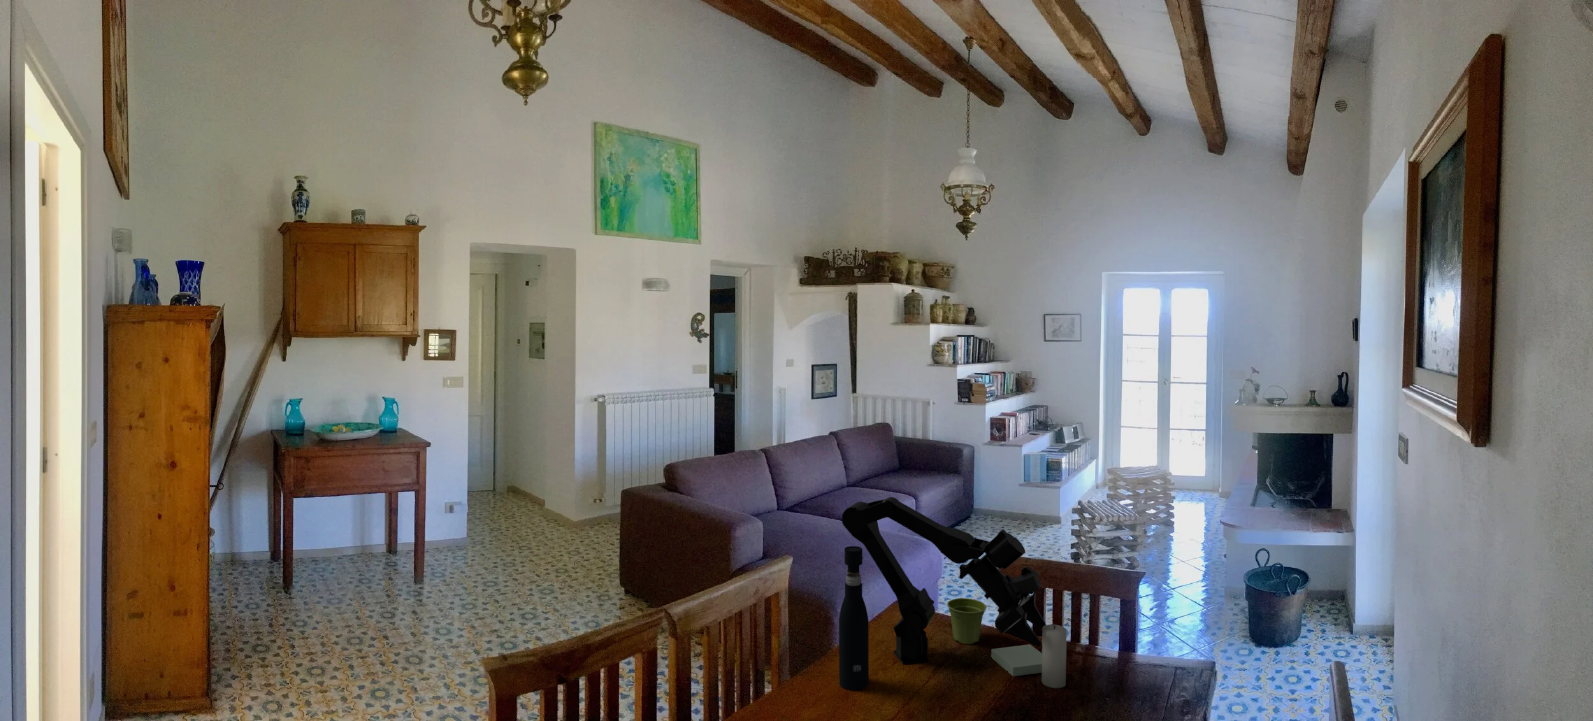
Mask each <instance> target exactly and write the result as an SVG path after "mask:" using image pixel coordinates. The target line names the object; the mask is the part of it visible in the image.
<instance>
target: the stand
mask: <svg viewBox="0 0 1593 721" xmlns="http://www.w3.org/2000/svg"><path fill="white" fill-rule="evenodd" d="M991 657H992V658H991ZM991 657H990V658H991V659H993V660H994V661H995V662H996V664H998V665H999V666H1000V667H1002V669H1004V670H1005V671H1006V672H1007V671H1008V673H1009V675H1011V676H1012V677H1018V676H1025V675H1026V676H1027V675H1033V674H1040V673H1041V674H1042V651H1039V650H1038V649H1037V648H1036V647H1034V645H1033V644H1031V643H1028V644H1023V645H1014V646H1008V647H999V648H991Z"/></svg>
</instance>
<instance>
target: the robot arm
mask: <svg viewBox="0 0 1593 721" xmlns="http://www.w3.org/2000/svg"><path fill="white" fill-rule="evenodd" d="M886 518H888V519H890V520H892V521H893V522H896V523H897V524H899V525H901V526H903V527H904V528H906V529H908V530H909V531H911V532H912V533H915V534H916V535H918V536H920V537H922V538H923V539H925V540H926V541H928V542H930V543H932V544H933V545H934V546H935V547H936V549H937V550H939V552H940V553H941V554H942V555H944V556H945V557H946V558H947V559H948V560H950V561H951V562H952V563H953V564H957V565H958V564H959V565H960V564H961V565H960V566H959V567H958V568H959V578H958V579H960V580H963V579H964V578H965V577H967V576H968V575H969V576H970V577H971V579H972V580H973V581H974V583H975V584H977V586H978V587H979V588H980V589H981V590H982V591H983V592H984V595H983V597H984V598H985V599H986V600H988V599H990V600H991V601H992V602H993V603H994V604H995V605H996V607H998V609H997V612H998V613H999V614H998V615H996V616H997V617H996V618H995V620H994V627H995V628H996V629H997V630H998V632H999V633H1000V634H1005V635H1007V634H1008V635H1010V636H1013V637H1015V638H1017V639H1020V640H1023V642H1024V641H1025V642H1027V643H1028V644H1030V645H1032V646H1035V647H1038V648H1039V647H1040V646H1042V640H1041V639H1039V636H1038V635H1037V634H1036V633H1035V631H1034V630H1033V628H1032V627H1031V625H1030V624H1029V623H1031V624H1032V625H1034V626H1035V627H1037V628H1038V629H1040V630H1042V627H1043V626H1045V625H1047V624H1046V621H1045V620H1044V618H1043V615H1042V614H1041V613H1040V611H1039V609H1038V606H1037V605H1036V598H1037V597H1036V596H1037V593H1036V592H1038V591H1039V590H1040V588H1041V586H1042V582H1041V579H1040V578H1039V575H1040V574H1039V573H1038V572H1037V571H1036V569H1032V567H1030V566H1025V567H1022V569H1021V571H1020V574H1018V575H1017V576H1014V577H1012V576H1011V575H1010V574H1008V573H1005V574H1003V573H1002V571H1001V570H1000V569H1004V570H1007V569H1008V568H1010V566H1011V565H1013V564H1014V563H1015V562H1016V561H1017V560H1019V559H1020V558H1021V557H1023V555H1025V554H1026V549H1025V547H1024V546H1023V544H1022V542H1021V541H1020V540H1019V539H1018V538H1017V537H1015V536H1013V535H1012V534H1011V533H1009V532H1007V531H1006V530H1005V529H1001V530H1000V531H999V532H998V533H997V534H996V536H995V537H993V538H992V539H991V540H990V541H989V540H985V539H981V538H976V537H974V536H973V535H972V534H970V533H969V532H967V531H964V530H961V529H958V528H955V527H950V526H945V525H942V524H940V523H939V522H937V521H935V520H933V519H932V518H930V517H928V516H926V515H924V514H922V513H920V512H919V511H918V510H916V509H914V508H911V507H910V506H908V505H907V504H904V503H903V502H901V501H900V500H898V498H896V497H893V496H889V497H887V498H884V499H879V500H875V501H871V502H864V501H857V502H855V503H853V504H852V505H851V506H849V507H847V508H845V510H844V511H843V513H842V515H841V522H842V525H843V527H844V528H845V529H846V530H847V532H848V533H849V534H850V535H851V536H852V537H853V538H854V539H855V540H857V541H858V542H860V543H861V544H862V545H863V546H864V548H865V549H866V550H867V552H868V553H869V556H870V557H871V558H872V560H873V562H874V564H875V565H876V567H877V568H878V570H879V571H880V573H881V575H882V577H883V578H884V579H885V581H886V583H887V584H888V585H889V587H890V589H891V591H892V592H893V594H894V595H895V597H896V601H897V605H898V609H899V613H900V616H901V618H900V620H899V621H898V622H897V623H896V624H895V626H894V627H893V631H894V632H895V642H896V643H895V645H896V646H895V650H893V654H894V655H895V656H896V658H897V659H898V660H899V661H900V663H901V664H902V665H903V664H904V665H905V664H906V665H907V664H915V663H923V662H929V660H930V659H929V657H928V654H929V637H928V636H927V632H926V631H925V630H926V628H927V627H928V626H929V625H930V623H931V622H932V621H933V618H934V617H935V614H936V608H935V606H934V604H935V601H934V600H933V599H932V598H931V597H930V595H929V593H928V591H927V589H926V588H925V587H923V588H922V589H921V590H920V589H918V588H917V587H915V586H914V584H912V582H911V580H910V578H909V577H908V575H907V573H906V572H905V571H904V569H903V567H901V564H900V563H899V561H898V560H897V558H896V556H895V555H894V553H893V551H891V548H890V547H889V545H888V544H887V542H886V541H885V539H884V537H883V536H882V534H881V532H880V527H879V522H878V521H880V520H883V519H886ZM969 560H970V561H969ZM968 561H969V562H968ZM967 562H968V563H967ZM966 563H967V564H966ZM1028 622H1029V623H1028Z"/></svg>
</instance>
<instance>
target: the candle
mask: <svg viewBox="0 0 1593 721" xmlns="http://www.w3.org/2000/svg"><path fill="white" fill-rule="evenodd" d="M1067 631H1068V630H1067V628H1066V627H1064V626H1063V625H1059V624H1046V625H1045V626H1043V627H1042V629H1041V632H1042V637H1041V643H1042V644H1041V646H1042V647H1041V653H1042V673H1041V683H1042V685H1043V686H1046V687H1048V688H1050V689H1051V688H1052V689H1061V688H1065V687H1066V685H1067V681H1066V679H1067V637H1068V636H1067V633H1068V632H1067Z"/></svg>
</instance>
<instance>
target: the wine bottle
mask: <svg viewBox="0 0 1593 721" xmlns="http://www.w3.org/2000/svg"><path fill="white" fill-rule="evenodd" d="M844 564H845V565H846V566H847V570H846V571H847V572H846V573H847V574H846V576H845V579H846V580H845V583H844V598H843V600H842V604H841V606H840V610H839V616H838V646H839V647H838V670H839V671H838V672H839V673H838V681H839V682H838V683H839V686H840V687H841V688H842V689H845V690H848V691H861V690H864V689H866V688H867V687H868V686H869V682H870V681H869V680H870V678H869V676H870V674H869V672H870V671H869V669H870V668H869V667H870V666H869V665H870V664H869V661H870V660H869V658H870V657H869V655H870V654H869V647H870V646H869V643H870V642H869V640H870V639H869V636H870V635H869V632H870V631H869V622H870V621H869V616H868V611H867V605H866V603H865V600H864V597H863V583H862V577H861V573H860V571H861V570H860V566H861V565H862V564H863V548H862V547H860V546H856V545H851V546H846V547H844Z"/></svg>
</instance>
